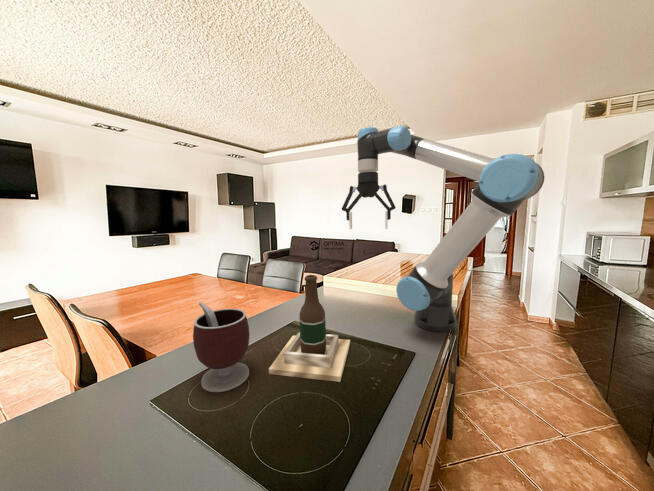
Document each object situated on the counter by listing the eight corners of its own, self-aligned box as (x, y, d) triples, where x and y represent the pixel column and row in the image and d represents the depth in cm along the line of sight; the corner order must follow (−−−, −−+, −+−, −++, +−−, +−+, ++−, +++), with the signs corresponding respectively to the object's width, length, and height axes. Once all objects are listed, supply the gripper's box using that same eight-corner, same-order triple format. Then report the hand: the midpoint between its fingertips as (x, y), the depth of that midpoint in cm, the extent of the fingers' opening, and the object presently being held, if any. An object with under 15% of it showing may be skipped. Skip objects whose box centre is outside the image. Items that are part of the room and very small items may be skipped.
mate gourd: (262, 370, 76) (258, 302, 73) (221, 401, 64) (214, 321, 61) (226, 356, 83) (220, 294, 81) (183, 381, 72) (175, 310, 69)
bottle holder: (350, 343, 89) (349, 331, 88) (340, 381, 70) (339, 365, 69) (293, 339, 93) (292, 327, 93) (269, 373, 74) (268, 358, 73)
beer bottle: (312, 343, 87) (309, 271, 84) (331, 351, 82) (329, 274, 79) (295, 354, 81) (291, 276, 78) (314, 362, 76) (311, 280, 73)
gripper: (401, 171, 101) (401, 227, 104) (337, 175, 107) (338, 228, 110) (403, 169, 94) (402, 229, 97) (333, 173, 99) (334, 229, 102)
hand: (368, 228), depth 103 cm, fingers open, 13 cm apart
